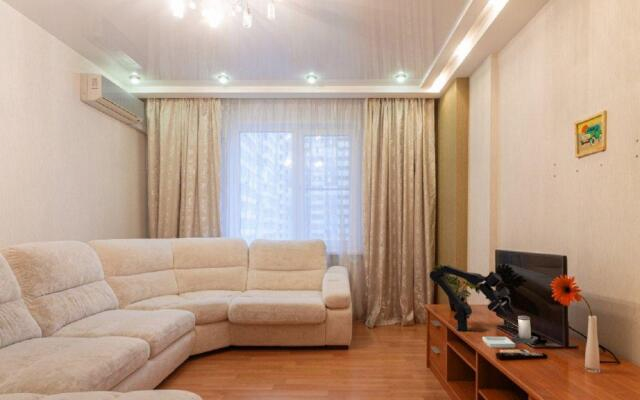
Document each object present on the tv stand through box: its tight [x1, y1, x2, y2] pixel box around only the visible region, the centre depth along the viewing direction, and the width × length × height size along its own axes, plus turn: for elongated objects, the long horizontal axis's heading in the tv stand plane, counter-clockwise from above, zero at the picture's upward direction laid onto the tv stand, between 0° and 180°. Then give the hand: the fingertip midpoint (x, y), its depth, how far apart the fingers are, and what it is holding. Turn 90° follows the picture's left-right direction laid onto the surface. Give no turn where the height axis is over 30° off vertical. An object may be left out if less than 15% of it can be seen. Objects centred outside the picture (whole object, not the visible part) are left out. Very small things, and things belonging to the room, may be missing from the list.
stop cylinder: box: [517, 315, 532, 340], centre depth 200 cm, size 6×6×12 cm
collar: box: [511, 333, 539, 345], centre depth 200 cm, size 9×9×2 cm
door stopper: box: [503, 319, 519, 329], centre depth 230 cm, size 9×6×12 cm, turn 169°
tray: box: [482, 336, 516, 349], centre depth 197 cm, size 12×12×2 cm
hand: (511, 315), depth 205 cm, fingers open, 9 cm apart
